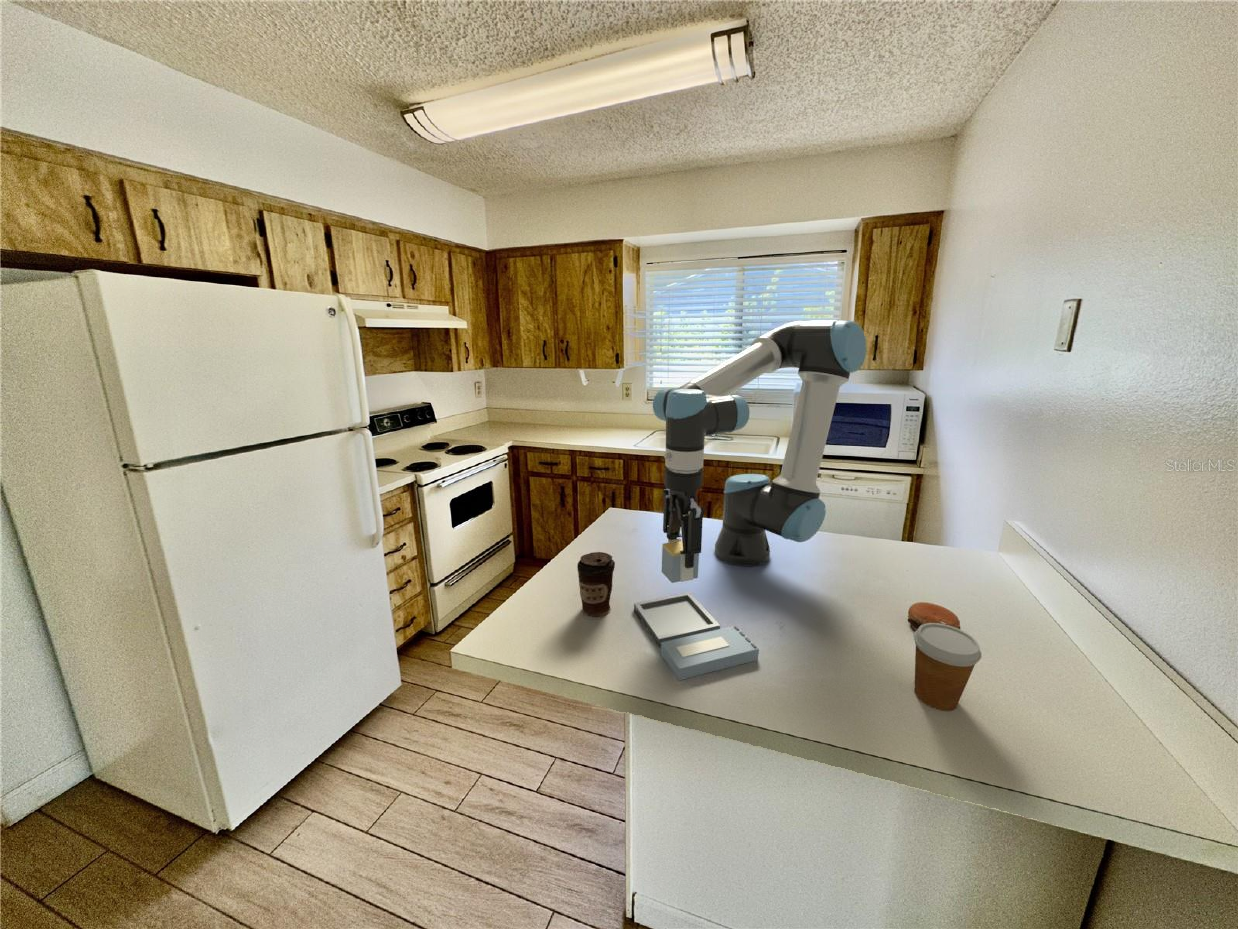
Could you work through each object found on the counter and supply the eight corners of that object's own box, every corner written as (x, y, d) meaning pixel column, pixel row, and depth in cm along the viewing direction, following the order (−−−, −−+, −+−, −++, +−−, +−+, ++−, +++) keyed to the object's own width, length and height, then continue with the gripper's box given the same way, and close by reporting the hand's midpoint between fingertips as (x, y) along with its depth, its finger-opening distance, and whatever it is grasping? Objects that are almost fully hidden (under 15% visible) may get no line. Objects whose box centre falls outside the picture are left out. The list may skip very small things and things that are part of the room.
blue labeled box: (735, 635, 101) (736, 624, 100) (758, 659, 93) (759, 647, 93) (660, 653, 95) (661, 641, 94) (678, 680, 88) (679, 667, 87)
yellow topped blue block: (686, 567, 105) (687, 539, 104) (697, 578, 101) (699, 549, 99) (661, 571, 103) (662, 543, 102) (671, 583, 99) (673, 553, 97)
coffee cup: (610, 622, 105) (609, 569, 101) (573, 618, 107) (571, 565, 103) (618, 601, 113) (618, 551, 110) (584, 597, 115) (582, 547, 111)
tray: (688, 598, 114) (689, 592, 114) (719, 632, 102) (720, 625, 101) (633, 610, 110) (634, 603, 109) (658, 646, 97) (659, 639, 97)
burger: (933, 614, 108) (937, 596, 107) (969, 639, 99) (974, 620, 98) (894, 619, 106) (898, 601, 105) (928, 646, 98) (932, 626, 96)
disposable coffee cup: (892, 680, 88) (902, 622, 85) (941, 677, 89) (953, 620, 85) (928, 720, 79) (941, 658, 75) (983, 717, 79) (998, 654, 76)
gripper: (648, 458, 103) (646, 558, 109) (688, 483, 86) (684, 598, 93) (679, 455, 105) (676, 552, 111) (724, 479, 89) (717, 591, 95)
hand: (679, 573), depth 102 cm, fingers closed on yellow topped blue block, 5 cm apart
